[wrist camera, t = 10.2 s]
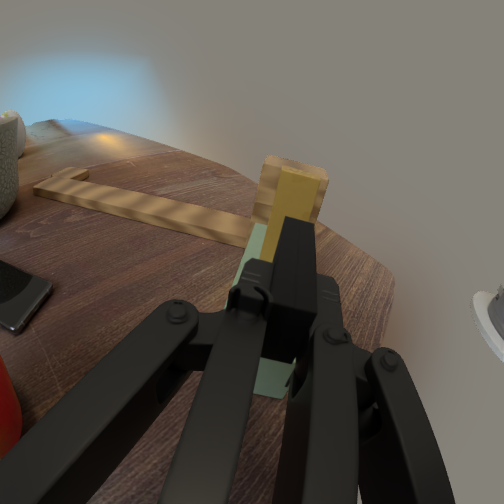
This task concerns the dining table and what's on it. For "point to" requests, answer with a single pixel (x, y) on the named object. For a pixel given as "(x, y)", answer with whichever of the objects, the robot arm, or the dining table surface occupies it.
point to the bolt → (289, 204)
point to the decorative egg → (20, 130)
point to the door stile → (269, 371)
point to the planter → (8, 163)
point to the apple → (8, 413)
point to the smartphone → (20, 296)
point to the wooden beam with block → (178, 203)
